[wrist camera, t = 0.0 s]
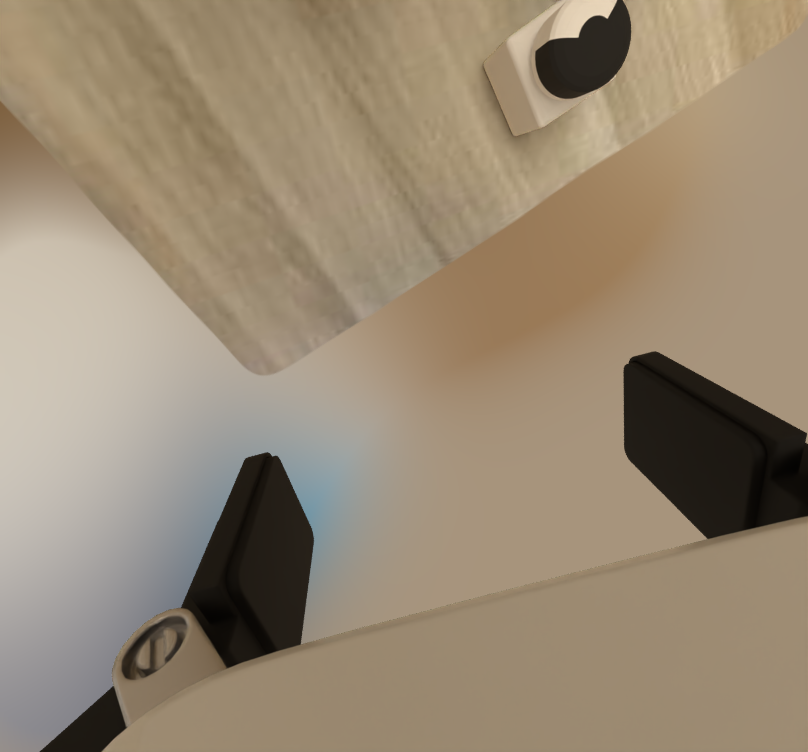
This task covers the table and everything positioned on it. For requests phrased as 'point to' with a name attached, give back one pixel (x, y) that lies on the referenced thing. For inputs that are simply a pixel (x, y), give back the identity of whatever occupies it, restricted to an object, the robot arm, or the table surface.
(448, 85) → the table surface
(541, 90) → the medicine bottle
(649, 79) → the table surface
